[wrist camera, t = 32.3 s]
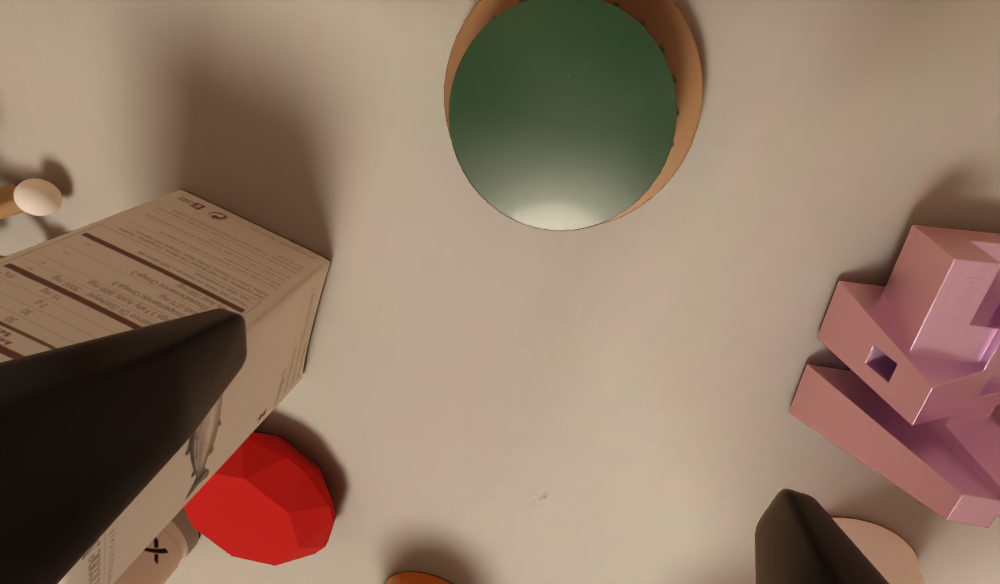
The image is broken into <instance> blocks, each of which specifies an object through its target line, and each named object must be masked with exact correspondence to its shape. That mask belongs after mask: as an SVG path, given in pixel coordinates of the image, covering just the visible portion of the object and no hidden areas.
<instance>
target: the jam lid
mask: <svg viewBox="0 0 1000 584" xmlns="http://www.w3.org/2000/svg"><path fill="white" fill-rule="evenodd" d="M619 6H620V3H619V2H615V3H614V4H613V3H610V2H608V1H605V0H520V1H519V3H518V4H516V5H514V6H512V7H511V8H509V9H507V10H505V11H503V12H502V13H501V14H499V15H498V16H494V17H493V18H492V20H491V21H490V22H489V23H488V24H487V25H486V26H485V27H484V28H483V29H482V30H481V31H480V32H479V33H478V34H477V36H476V37H475V38H474V40H472V41H471V43H470V45H469V46H468V48H467V50H466V52H465V53H464V55H463V57H462V59H461V61H460V63H459V65H458V68H457V70H456V73H455V76H454V80H453V83H452V86H451V93H450V99H449V128H450V135H451V140H452V145H453V148H454V151H455V154H456V157H457V160H458V162H459V164H460V166H461V168H462V170H463V172H464V174H465V175H466V177H467V179H468V180H469V182H470V183H471V185H472V186H473V187H474V188H475V190H476V191H477V192H478V193H479V194H480V195H481V196H482V197H483V198H484V199H485V200H486V201H487V202H488V203H489V204H490V205H491V206H493V207H494V208H495V209H496V210H498V211H499V212H501V213H502V214H504V215H506V216H507V217H509V218H511V219H513V220H515V221H517V222H520V223H522V224H525V225H528V226H531V227H535V228H539V229H545V230H555V231H568V230H578V229H583V228H588V227H592V226H595V225H598V224H601V223H604V222H606V221H608V220H610V219H612V218H614V217H616V216H618V215H619V214H621V213H622V212H624V211H625V210H627V209H628V208H630V207H631V206H632V205H633V204H634V203H636V202H637V201H638V200H639V199H640V198H641V197H642V196H643V195H644V194H645V193H646V192H647V191H648V190H649V188H650V187H651V186H652V184H653V183H654V182H655V180H656V179H657V177H658V176H659V175H660V174H661V170H662V169H663V167H664V165H665V163H666V161H667V158H668V155H669V153H670V150H671V148H672V147H673V146H674V141H673V140H674V135H675V130H676V121H677V115H679V109H678V106H677V98H676V92H675V86H674V83H676V82H677V81H676V78H675V75H674V73H673V74H671V71H670V68H669V66H668V63H667V61H666V59H665V57H664V54H663V52H665V49H664V47H663V45H662V44H661V45H660V46H659V45H658V43H657V42H656V40H655V39H654V37H653V36H652V34H651V33H650V32H649V31H648V30H647V29H646V27H645V26H644V25H645V21H644V20H642V21H641V22H640V21H639V20H637V19H636V18H635V17H634V16H633V15H631V14H630V13H629V12H627V11H625V10H624V9H622V8H621V7H619Z"/></svg>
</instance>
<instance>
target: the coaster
mask: <svg viewBox="0 0 1000 584" xmlns="http://www.w3.org/2000/svg"><path fill="white" fill-rule="evenodd" d="M519 1H520V0H480V1H479V3H478V4H477V5H476V6H475V7H474V9H473V10H472V11H471V13H470V14H469V16H468V17H467V19H466V20H465V22H464V24H463V25H462V27H461V29H460V31H459V33H458V35H457V37H456V40H455V42H454V45H453V48H452V50H451V53H450V57H449V61H448V65H447V70H446V77H445V86H444V106H445V114H446V122H447V126H448V130H449V134H450V128H449V99H450V93H451V86H452V83H453V80H454V76H455V73H456V70H457V68H458V65H459V63H460V61H461V59H462V57H463V55H464V53H465V52H466V50H467V48H468V46H469V45H470V43H471V41H472V40H474V38H475V37H476V36H477V34H478V33H479V32H480V31H481V30H482V29H483V28H484V27H485V26H486V25H487V24H488V23H489V22H490V21H491V20H492V18H493V17H494V16H498V15H499V14H501V13H502V12H503V11H505V10H507V9H509V8H511V7H512V6H514V5H516V4H518V3H519ZM605 1H608V2H610V3H613V4H614V3H615V2H619V3H620V6H619V7H621V8H622V9H624V10H625V11H627V12H629V13H630V14H631V15H633V16H634V17H635V18H636V19H637V20H639V21H640V22H641V21H642V20H644V21H645V25H644V26H645V27H646V29H647V30H648V31H649V32H650V33H651V34H652V36H653V37H654V39H655V40H656V42H657V43H658V45H659V46H660V45H661V44H662V45H663V47H664V49H665V52H663V54H664V57H665V59H666V61H667V63H668V66H669V68H670V71H671V74H673V73H674V75H675V78H676V81H677V82H676V83H674V86H675V92H676V98H677V106H678V109H679V115H677V121H676V130H675V135H674V140H673V141H674V146H673V147H672V148H671V150H670V153H669V155H668V158H667V161H666V163H665V165H664V167H663V169H662V170H661V174H660V175H659V176H658V177H657V179H656V180H655V182H654V183H653V184H652V186H651V187H650V188H649V190H648V191H647V192H646V193H645V194H644V195H643V196H642V197H641V198H640V199H639V200H638V201H637V202H636V203H634V204H633V205H632V206H631V207H630V208H628V209H627V210H625V211H624V212H622V213H621V214H619V215H618V216H616V217H614V218H612V219H610V220H608V221H606V222H609V221H611V220H614V219H617V218H619V217H622V216H624V215H626V214H628V213H630V212H631V211H633V210H635V209H637V208H638V207H640V206H641V205H643V204H644V203H645V202H647V201H648V200H650V199H651V198H652V197H653V196H654V195H655V194H656V193H658V192H659V191H660V190H661V189H662V188H663V187H664V186H665V185H666V183H667V182H668V181H669V180H670V179H671V178H672V177H673V175H674V174H675V172H676V171H677V169H678V168H679V166H680V165H681V163H682V162H683V161H684V159H685V157H686V155H687V153H688V151H689V149H690V147H691V145H692V142H693V139H694V136H695V133H696V131H697V128H698V123H699V119H700V114H701V110H702V98H703V77H702V68H701V62H700V57H699V52H698V49H697V46H696V43H695V40H694V37H693V34H692V32H691V30H690V28H689V26H688V24H687V22H686V20H685V18H684V17H683V15H682V14H681V12H680V11H679V9H678V8H677V7H676V5H675V4H674V2H673V1H672V0H605ZM450 138H451V135H450ZM606 222H604V223H606ZM601 224H602V223H601Z"/></svg>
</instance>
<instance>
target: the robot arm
mask: <svg viewBox="0 0 1000 584" xmlns="http://www.w3.org/2000/svg"><path fill="white" fill-rule="evenodd" d="M246 357H247V339H246V322H245V319H244V317H243V316H242V315H241V314H238V313H235V312H232V311H229V310H226V309H221V308H217V309H213V310H209V311H205V312H201V313H197V314H193V315H189V316H185V317H181V318H177V319H173V320H169V321H165V322H161V323H157V324H153V325H148V326H144V327H140V328H136V329H132V330H128V331H124V332H120V333H116V334H112V335H108V336H104V337H100V338H96V339H92V340H88V341H84V342H80V343H76V344H72V345H68V346H64V347H60V348H56V349H52V350H48V351H44V352H40V353H36V354H32V355H28V356H24V357H20V358H16V359H12V360H8V361H4V362H0V584H58V583H59V582H60V581H61V580H62V579H63V577H64V576H65V575H66V574H67V573H68V572H69V571H70V570H71V569H72V568H73V566H74V565H75V564H76V563H77V562H78V561H79V560H80V559H81V558H82V557H83V555H84V554H85V553H86V552H87V551H88V550H89V549H90V548H91V547H92V545H93V544H94V543H95V542H96V541H97V540H98V539H99V538H100V537H101V536H102V534H103V533H104V532H105V531H106V530H107V529H108V528H109V527H110V526H111V525H112V523H113V522H114V521H115V520H116V519H117V518H118V517H119V516H120V515H121V514H122V512H123V511H124V510H125V509H126V508H127V507H128V506H129V505H130V504H131V503H132V501H133V500H134V499H135V498H136V497H137V496H138V495H139V494H140V493H141V492H142V490H143V489H144V488H145V487H146V486H147V485H148V484H149V483H150V482H151V480H152V479H153V478H154V477H155V476H156V475H157V474H158V473H159V472H160V471H161V469H162V468H163V467H164V466H165V465H166V464H167V463H168V462H169V461H170V460H171V458H172V457H173V456H174V455H175V454H176V453H177V452H178V451H179V450H180V448H181V447H182V446H183V445H184V444H185V443H186V442H187V440H188V439H189V438H190V437H191V436H192V434H193V433H194V432H195V430H196V429H197V428H198V427H199V425H200V424H201V423H202V421H203V420H204V419H205V417H206V416H207V414H208V413H209V412H210V410H211V409H212V408H213V406H214V405H215V404H216V402H217V401H218V400H219V398H220V397H221V395H222V394H223V393H224V391H225V390H226V389H227V387H228V386H229V385H230V383H231V382H232V381H233V379H234V378H235V377H236V375H237V374H238V372H239V371H240V370H241V368H242V367H243V365H244V363H245V361H246ZM755 562H756V584H889V583H888V581H887V580H886V579H885V578H884V577H883V576H882V575H881V573H880V572H879V571H878V570H877V569H876V568H875V567H874V565H873V564H872V563H871V562H870V561H869V560H868V559H867V557H866V556H865V555H864V554H863V553H862V552H861V551H860V549H859V548H858V547H857V546H856V545H855V544H854V543H853V542H852V540H851V539H850V538H849V537H848V536H847V535H846V534H845V532H844V531H843V530H842V529H841V528H840V527H839V526H838V524H837V523H836V522H835V521H834V520H833V519H832V518H831V516H830V515H829V514H828V513H827V512H826V511H825V510H824V508H823V507H822V506H821V505H820V504H819V503H818V502H817V501H816V500H815V499H814V498H813V497H811V496H809V495H806V494H803V493H800V492H797V491H794V490H791V489H783V490H781V491H780V492H779V493H778V494H777V495H776V497H775V498H774V500H773V501H772V502H771V504H770V505H769V507H768V508H767V510H766V511H765V513H764V514H763V515H762V517H761V518H760V520H759V522H758V524H757V527H756V532H755Z"/></svg>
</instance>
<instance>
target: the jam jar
mask: <svg viewBox="0 0 1000 584" xmlns="http://www.w3.org/2000/svg"><path fill="white" fill-rule="evenodd" d="M385 584H450V583H448V582H446V581H445V580H442V579H440V578H438V577H435V576H432V575H429V574H424V573H418V572H403V573H398V574H395V575H393V576H391V577H390V578H389V579H388V580H387V581H386V582H385Z"/></svg>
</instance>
